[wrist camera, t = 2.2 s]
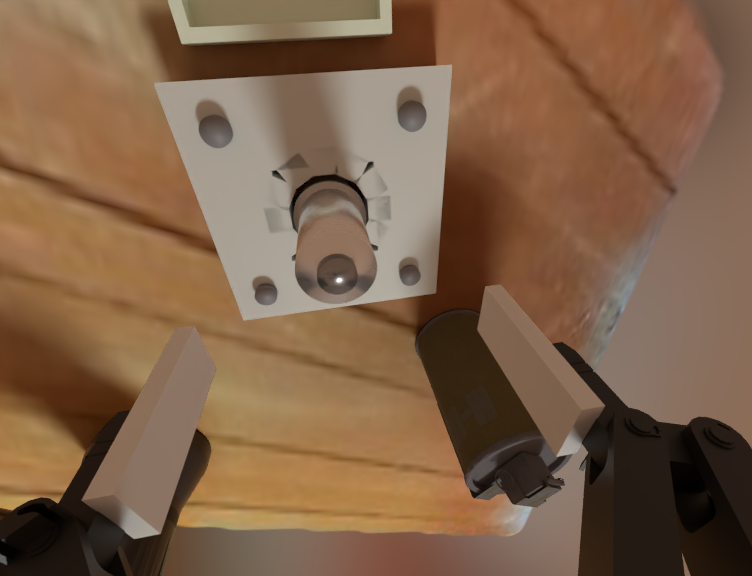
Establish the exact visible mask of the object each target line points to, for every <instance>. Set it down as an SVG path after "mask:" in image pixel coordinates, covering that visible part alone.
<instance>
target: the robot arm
mask: <svg viewBox="0 0 752 576" xmlns="http://www.w3.org/2000/svg"><path fill="white" fill-rule="evenodd" d="M477 330H478V332H479V333H480V335H481V337H482V338H483V340H484V341H485V343H486V345H487V346H488V348H489V350H490V351H491V353H492V354H493V356H494V358H495V359H496V361H497V362H498V364H499V366H500V367H501V369H502V371H503V372H504V374H505V375H506V377H507V379H508V380H509V382H510V383H511V385H512V387H513V388H514V390H515V391H516V393H517V395H518V396H519V398H520V400H521V401H522V403H523V404H524V406H525V408H526V409H527V411H528V412H529V414H530V416H531V417H532V419H533V420H534V422H535V424H536V425H537V427H538V429H539V430H540V432H541V433H542V435H543V437H544V438H545V440H546V441H547V443H548V445H549V446H550V448H551V449H552V451H553V453H554V454H555V456H556V457H558V456H563V455H569V454H574V453H577V451H578V449H579V448H580V446H581V445H582V444H583V445H584V447H585V448H586V450H587V451H588V455H587V456H586V457H585V459H584V461H583V462H582V464H581V466H580V468H579V469H580V470H582V471H583V470H584V468H585V467H586V470H585V485H584V498H583V513H582V526H581V540H580V555H579V568H578V569H579V570H578V576H685V574H684V567H683V559H682V553H683V556H684V559H685V562H686V564H687V567H688V570H689V572H690V575H691V576H752V449H751V447H750V446H749V444H748V443H747V441H746V440H745V439H744V438H743V437H742V436H741V435H740V434H739V433H738V432H736V431H735V430H734V429H733V428H731V427H730V426H728V425H726V424H724V423H722V422H720V421H718V420H715V419H711V418H708V417H697V418H694V419H692V420H691V422H690V423H689V424H688V425H687V426H686V425H679V424H671V423H663V422H657V421H656V420H654V419H653V418H652V417H650V416H649V415H648V414H646V413H644V412H642V411H640V410H637V409H632V408H628V407H627V406H626V405H625V404H624V403H623V402H622V401H621V400H620V399H619V397H618V396H617V395H616V394H615V393H614V392H613V391H612V390H611V389H610V388H609V387H608V385H607V384H606V383H605V382H604V381H603V380H602V379H601V378H600V377H599V376H598V375H597V374H596V373H595V372H593V369H592V368H591V367H590V366H589V365H588V364H587V363H585V361H584V360H583V358H582V357H581V356H580V355H579V354H578V353H577V352H576V351H575V350H573V349H572V348H570V347H569V346H567V345H566V344H564V343H563V342H560V343H554V344H552V343H551V342H550V341H549V340H548V339H547V338H546V336H545V335H544V334H543V333H542V332H541V331H540V330H539V328H538V327H537V326H536V325H535V324H534V323H533V321H532V320H531V319H530V318H529V317H528V316H527V314H526V313H525V312H524V311H523V310H522V309H521V307H520V306H519V305H518V304H517V303H516V302H515V301H514V299H513V298H512V297H511V296H510V295H509V294H508V292H507V291H506V290H505V289H504V288H503V287H502V285H501V284H499V285H492V286H485V290H484V295H483V301H482V306H481V312H480V317H479V323H478V328H477ZM215 371H216V367H215V365H214V363H213V361H212V359H211V357H210V355H209V353H208V351H207V349H206V347H205V345H204V343H203V341H202V339H201V337H200V335H199V333H198V331H197V330H196V328H195V326H187V327H180V328H176V329H175V330H174V332H173V334H172V336H171V338H170V339H169V341H168V343H167V345H166V347H165V349H164V350H163V352H162V354H161V356H160V358H159V360H158V361H157V363H156V365H155V367H154V369H153V371H152V372H151V374H150V376H149V378H148V380H147V381H146V383H145V385H144V387H143V389H142V391H141V392H140V394H139V396H138V398H137V400H136V402H135V403H134V405H133V407H132V409H131V411H124V412H118V413H117V414H116V415H115V416H114V417H113V418H112V419H111V420H110V421H109V422H108V423H107V424H106V426H105V427H104V428H103V430H102V431H101V432H100V433H98V434H97V435H96V436H95V438H94V439H93V441H92V442H91V444H90V446H89V447H88V449H87V451H86V452H85V454H84V457H83V459H82V464H81V466H80V468H79V470H78V471H77V473H76V475H75V477H74V478H73V480H72V482H71V483H70V485H69V487H68V488H67V490H66V492H65V493H64V495H63V497H62V498H61V500H60V502H59V503H58V504H57V503H56V502H54V501H53V500H51V499H49V498H42V497H41V498H37V499H34V500H30V501H28V502H26V503H24V504H23V505H21V506H19V507H17V508H16V509H14V510H13V511H12V510H8V509H3V508H0V576H162V572H163V569H164V566H165V562H166V559H167V556H168V552H169V549H170V545H171V542H172V539H173V535H174V532H175V528H176V525H177V522H178V518H179V515H180V513H181V510H182V509H183V507H184V505H185V504H186V502H187V501H188V499H189V497H190V496H191V494H192V492H193V491H194V489H195V488H196V486H197V484H198V483H199V481H200V479H201V477H202V476H203V475H204V473H205V471H206V469H207V466H208V462H209V459H210V455H211V447H210V444H209V442H208V441H207V440H206V438H205V437H204V436H202V435H201V434H200V433H198V432H197V431H195V430H196V427H197V424H198V421H199V418H200V415H201V412H202V409H203V407H204V404H205V401H206V398H207V395H208V392H209V389H210V386H211V383H212V380H213V377H214V374H215Z"/></svg>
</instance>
